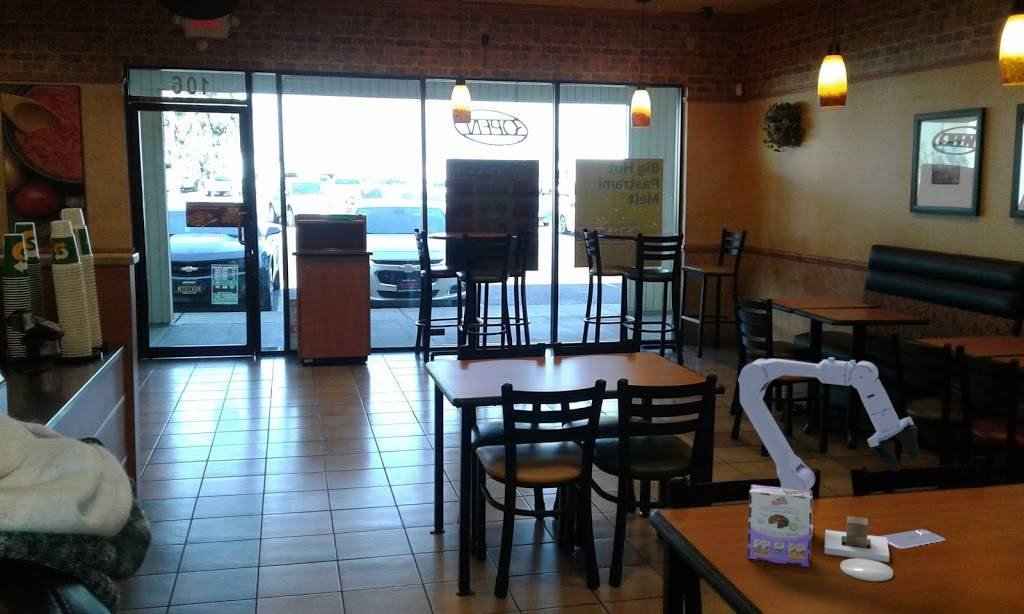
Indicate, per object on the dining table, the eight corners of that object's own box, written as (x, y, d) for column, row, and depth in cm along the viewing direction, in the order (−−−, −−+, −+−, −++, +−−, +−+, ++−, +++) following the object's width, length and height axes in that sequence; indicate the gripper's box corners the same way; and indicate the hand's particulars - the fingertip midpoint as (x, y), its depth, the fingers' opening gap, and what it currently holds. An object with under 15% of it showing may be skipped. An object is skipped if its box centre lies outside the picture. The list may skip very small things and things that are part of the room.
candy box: (809, 558, 210) (813, 489, 208) (809, 568, 205) (813, 497, 203) (748, 550, 215) (751, 482, 213) (746, 559, 209) (749, 490, 207)
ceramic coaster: (840, 576, 200) (840, 574, 200) (840, 558, 210) (840, 555, 210) (894, 584, 196) (894, 581, 196) (891, 565, 207) (891, 562, 207)
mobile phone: (876, 535, 223) (923, 527, 228) (876, 539, 223) (923, 531, 228) (899, 546, 216) (947, 538, 221) (899, 550, 216) (947, 542, 221)
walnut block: (845, 550, 215) (847, 522, 214) (845, 544, 219) (847, 516, 218) (866, 553, 213) (867, 524, 213) (865, 546, 218) (867, 518, 217)
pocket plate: (824, 553, 213) (824, 547, 213) (825, 535, 224) (825, 529, 224) (888, 562, 208) (889, 555, 208) (886, 543, 220) (886, 537, 219)
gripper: (874, 417, 207) (901, 473, 205) (912, 396, 214) (938, 450, 213) (851, 423, 213) (877, 477, 211) (889, 403, 220) (914, 455, 219)
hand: (906, 464), depth 212 cm, fingers open, 7 cm apart
